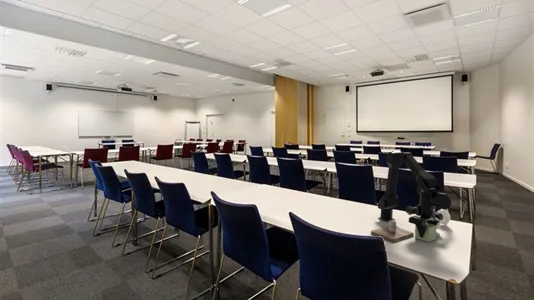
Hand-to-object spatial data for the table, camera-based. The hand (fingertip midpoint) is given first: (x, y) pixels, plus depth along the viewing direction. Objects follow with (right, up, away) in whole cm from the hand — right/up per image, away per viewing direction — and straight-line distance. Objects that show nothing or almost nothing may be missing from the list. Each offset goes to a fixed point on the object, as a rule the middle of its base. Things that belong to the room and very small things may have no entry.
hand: (425, 235), depth 125 cm
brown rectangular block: (-13, -1, +5) cm, 14 cm away
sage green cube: (0, -1, 0) cm, 1 cm away
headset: (+15, -1, +13) cm, 19 cm away
